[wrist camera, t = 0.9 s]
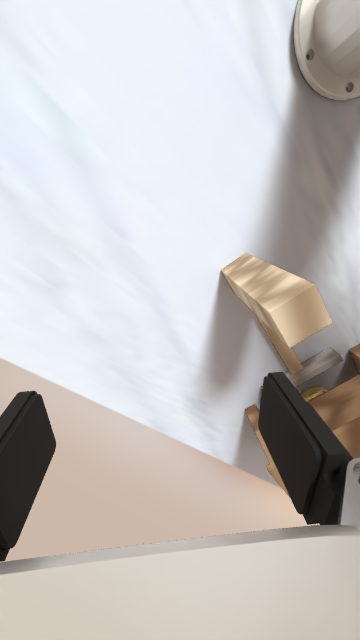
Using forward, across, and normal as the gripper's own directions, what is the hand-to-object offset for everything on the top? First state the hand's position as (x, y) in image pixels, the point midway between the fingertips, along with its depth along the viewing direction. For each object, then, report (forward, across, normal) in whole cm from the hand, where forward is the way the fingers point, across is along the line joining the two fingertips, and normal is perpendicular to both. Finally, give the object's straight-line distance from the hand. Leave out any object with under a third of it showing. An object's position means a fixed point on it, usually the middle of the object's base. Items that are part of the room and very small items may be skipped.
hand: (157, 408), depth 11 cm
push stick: (+26, -16, +9) cm, 32 cm away
